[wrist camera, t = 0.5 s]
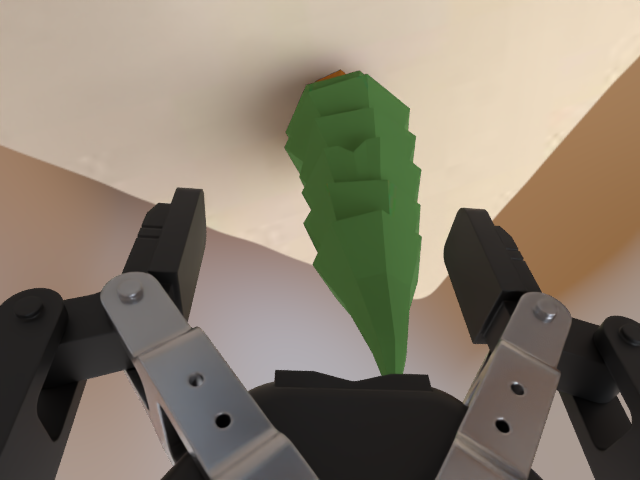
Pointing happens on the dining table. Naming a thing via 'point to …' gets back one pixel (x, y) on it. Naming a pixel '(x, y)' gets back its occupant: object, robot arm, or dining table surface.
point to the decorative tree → (361, 204)
